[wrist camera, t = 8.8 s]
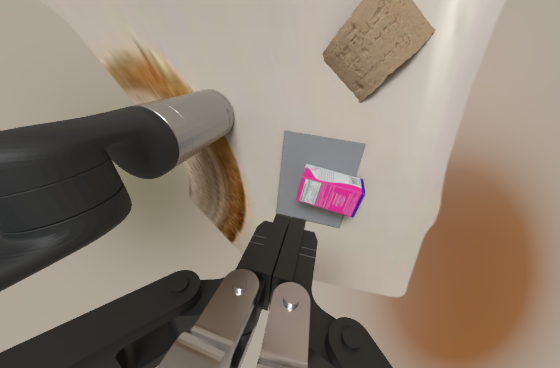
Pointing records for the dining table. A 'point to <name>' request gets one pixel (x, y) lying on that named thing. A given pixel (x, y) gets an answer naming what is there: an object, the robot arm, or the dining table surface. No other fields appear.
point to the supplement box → (331, 190)
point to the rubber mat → (315, 153)
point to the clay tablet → (376, 43)
